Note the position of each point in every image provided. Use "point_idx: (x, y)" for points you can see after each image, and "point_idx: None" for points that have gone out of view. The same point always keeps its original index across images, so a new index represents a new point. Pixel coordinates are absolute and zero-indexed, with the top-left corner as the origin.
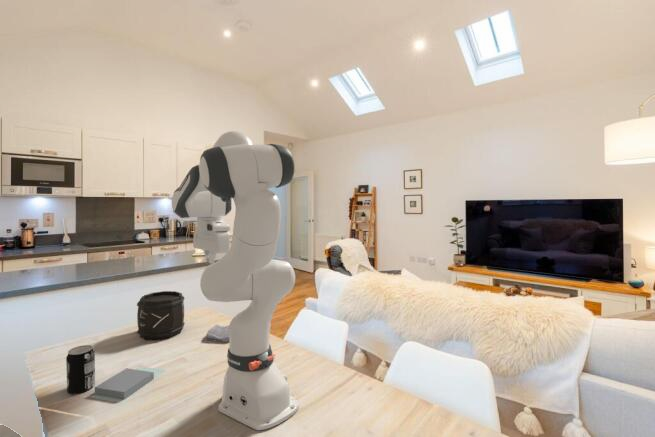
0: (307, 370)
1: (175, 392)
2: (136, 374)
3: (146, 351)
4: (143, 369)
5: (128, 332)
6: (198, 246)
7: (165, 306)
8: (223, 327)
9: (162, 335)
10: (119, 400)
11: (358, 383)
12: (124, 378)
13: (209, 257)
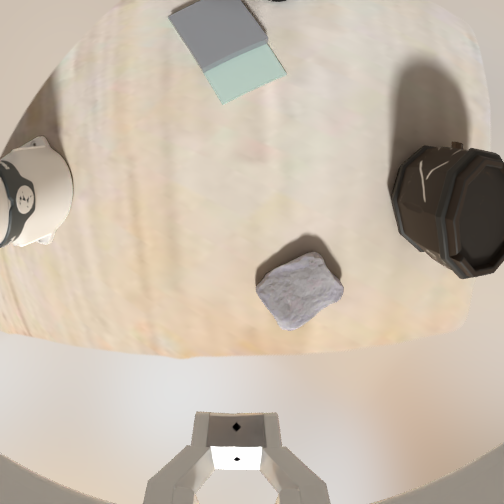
0: (58, 304)
1: (128, 93)
2: (221, 42)
3: (360, 119)
4: (265, 72)
5: None
6: (442, 501)
7: (442, 196)
8: (310, 302)
9: (398, 176)
10: None
11: (13, 317)
12: (222, 24)
13: (194, 455)
